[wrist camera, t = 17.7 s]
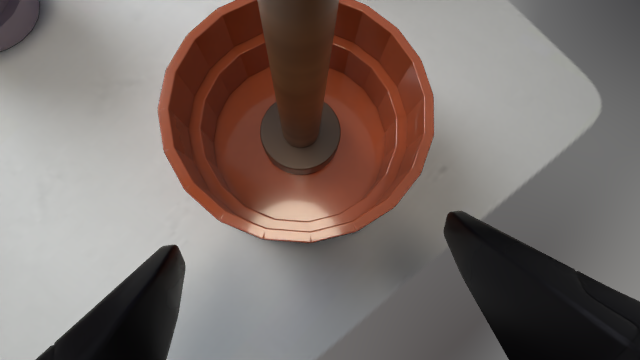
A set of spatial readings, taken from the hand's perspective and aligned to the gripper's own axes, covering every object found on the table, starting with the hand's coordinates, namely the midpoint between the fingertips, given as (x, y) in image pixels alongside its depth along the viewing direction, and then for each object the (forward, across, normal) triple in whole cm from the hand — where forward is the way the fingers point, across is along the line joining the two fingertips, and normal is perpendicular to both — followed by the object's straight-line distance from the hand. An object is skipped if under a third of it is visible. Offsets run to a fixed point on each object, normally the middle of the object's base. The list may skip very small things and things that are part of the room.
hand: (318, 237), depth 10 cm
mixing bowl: (+10, 0, +1) cm, 11 cm away
